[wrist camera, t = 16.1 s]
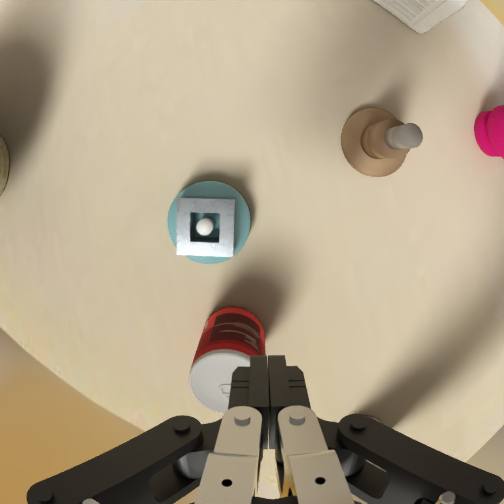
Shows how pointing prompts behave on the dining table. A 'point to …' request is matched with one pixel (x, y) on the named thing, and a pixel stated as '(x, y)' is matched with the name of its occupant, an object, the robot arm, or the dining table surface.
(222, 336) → the canned food
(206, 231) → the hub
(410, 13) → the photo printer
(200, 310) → the dining table surface
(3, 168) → the amphora
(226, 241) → the square metal frame
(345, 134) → the stand
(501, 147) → the pepper mill
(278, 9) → the dining table surface
